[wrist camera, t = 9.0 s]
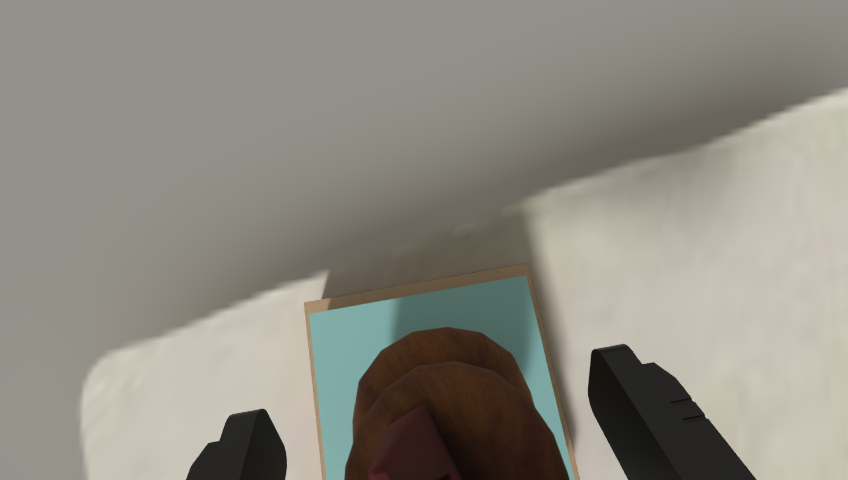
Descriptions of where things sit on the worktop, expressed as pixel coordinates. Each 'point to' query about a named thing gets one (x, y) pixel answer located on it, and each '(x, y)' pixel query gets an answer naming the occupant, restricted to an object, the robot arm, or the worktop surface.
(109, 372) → the worktop surface
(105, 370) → the worktop surface
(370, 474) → the wooden figurine
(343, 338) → the tower base
